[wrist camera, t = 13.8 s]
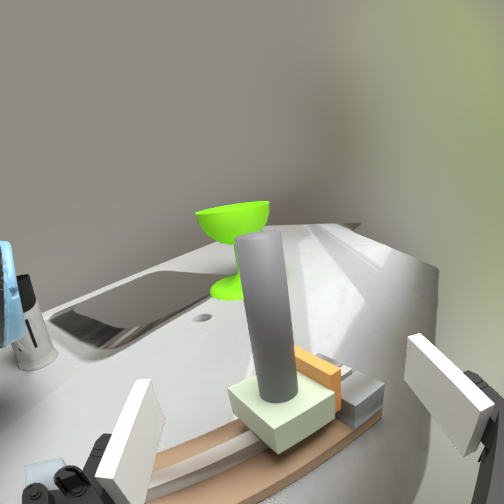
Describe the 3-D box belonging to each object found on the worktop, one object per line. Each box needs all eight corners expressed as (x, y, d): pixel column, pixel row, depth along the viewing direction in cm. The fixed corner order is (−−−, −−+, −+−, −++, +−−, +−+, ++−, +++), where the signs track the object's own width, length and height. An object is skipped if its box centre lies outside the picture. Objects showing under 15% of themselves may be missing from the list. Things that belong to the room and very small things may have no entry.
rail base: (49, 495, 18) (25, 465, 17) (320, 385, 34) (319, 352, 33) (63, 568, 11) (30, 542, 10) (381, 418, 27) (384, 383, 26)
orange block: (288, 388, 30) (284, 350, 29) (327, 366, 32) (325, 329, 31) (331, 415, 25) (330, 375, 24) (370, 387, 27) (372, 348, 26)
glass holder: (58, 344, 52) (35, 270, 49) (56, 379, 40) (22, 288, 37) (21, 354, 48) (-4, 281, 45) (11, 390, 36) (-26, 301, 33)
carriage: (233, 412, 27) (196, 240, 23) (285, 386, 30) (264, 224, 26) (278, 454, 21) (246, 251, 18) (334, 418, 24) (325, 229, 21)
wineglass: (286, 292, 66) (275, 203, 62) (208, 305, 65) (192, 216, 61) (273, 271, 81) (263, 199, 77) (210, 281, 80) (197, 210, 76)
